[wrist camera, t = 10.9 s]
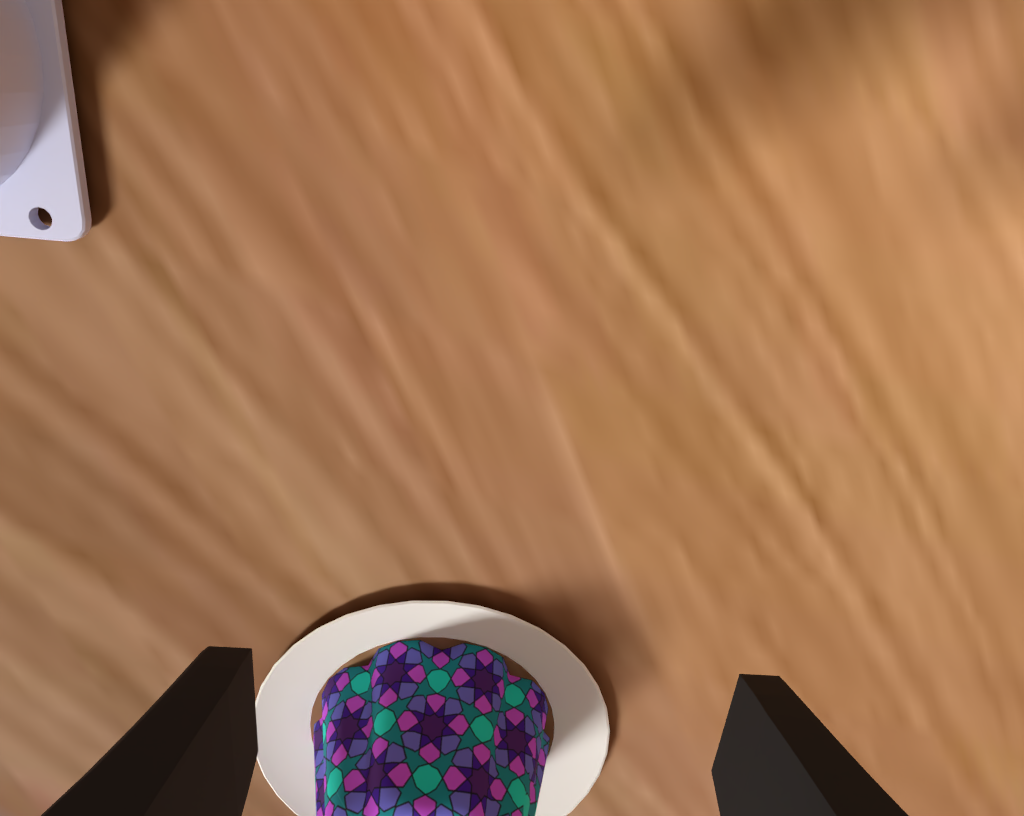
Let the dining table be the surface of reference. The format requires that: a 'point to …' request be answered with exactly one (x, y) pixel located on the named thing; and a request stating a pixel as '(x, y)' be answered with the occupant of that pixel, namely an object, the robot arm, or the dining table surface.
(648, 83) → the dining table surface
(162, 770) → the robot arm
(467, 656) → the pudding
